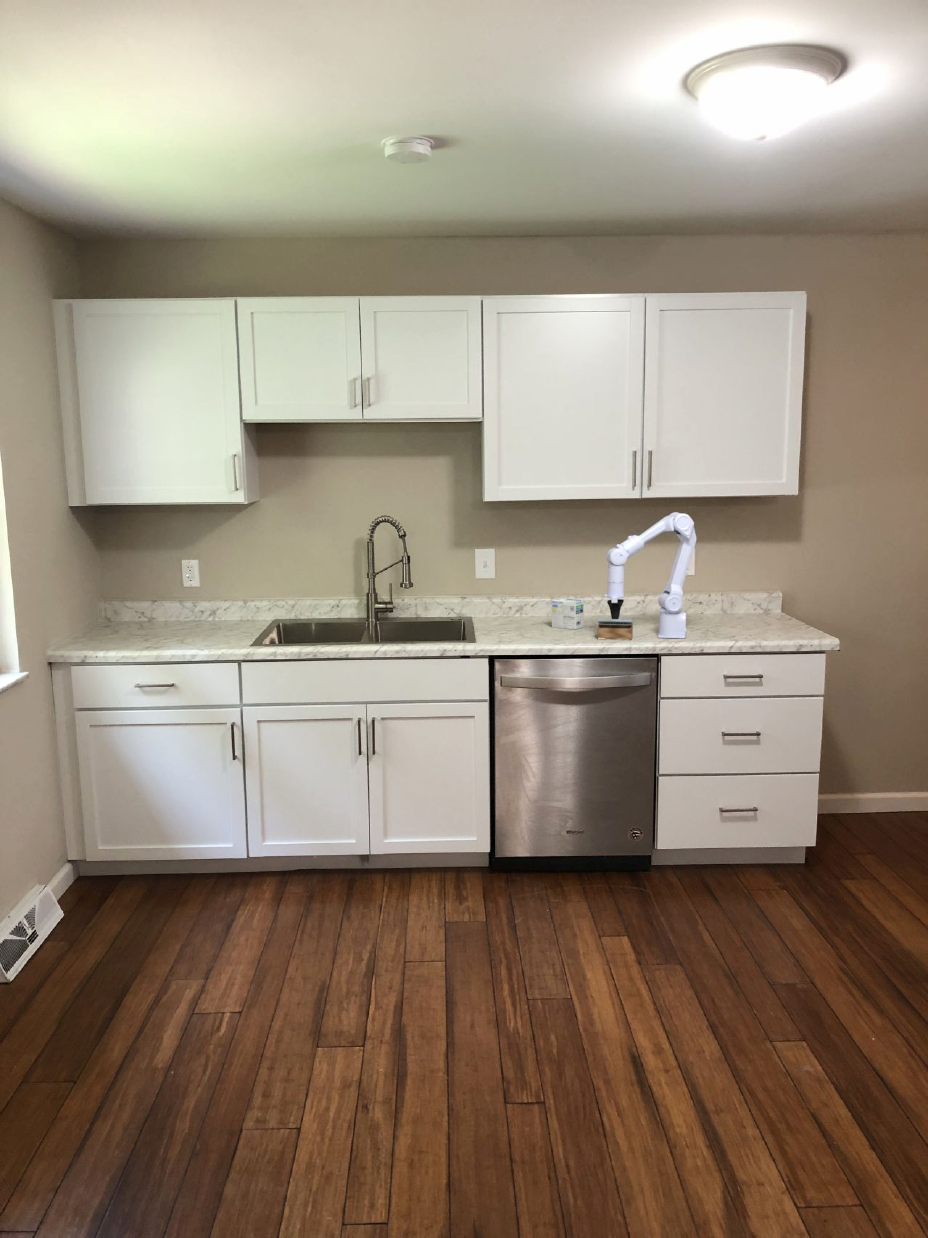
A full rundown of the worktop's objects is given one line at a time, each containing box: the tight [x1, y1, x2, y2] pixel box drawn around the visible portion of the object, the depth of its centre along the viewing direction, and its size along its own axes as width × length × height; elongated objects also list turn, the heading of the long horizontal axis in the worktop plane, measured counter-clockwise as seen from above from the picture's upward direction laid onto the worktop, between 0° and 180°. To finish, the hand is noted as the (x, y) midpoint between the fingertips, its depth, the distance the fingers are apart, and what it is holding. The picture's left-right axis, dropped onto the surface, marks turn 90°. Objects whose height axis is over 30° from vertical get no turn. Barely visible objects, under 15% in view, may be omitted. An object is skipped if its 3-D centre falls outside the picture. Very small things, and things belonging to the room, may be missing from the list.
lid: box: [597, 617, 634, 625], centre depth 334 cm, size 12×8×1 cm
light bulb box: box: [551, 597, 585, 630], centre depth 356 cm, size 11×7×11 cm, turn 56°
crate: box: [596, 623, 634, 641], centre depth 334 cm, size 12×8×4 cm, turn 78°
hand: (615, 620), depth 332 cm, fingers closed
